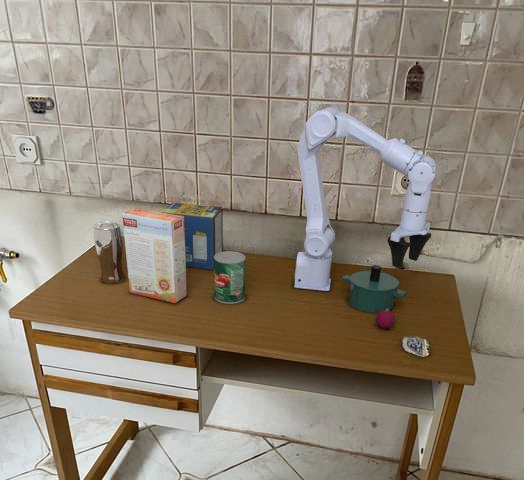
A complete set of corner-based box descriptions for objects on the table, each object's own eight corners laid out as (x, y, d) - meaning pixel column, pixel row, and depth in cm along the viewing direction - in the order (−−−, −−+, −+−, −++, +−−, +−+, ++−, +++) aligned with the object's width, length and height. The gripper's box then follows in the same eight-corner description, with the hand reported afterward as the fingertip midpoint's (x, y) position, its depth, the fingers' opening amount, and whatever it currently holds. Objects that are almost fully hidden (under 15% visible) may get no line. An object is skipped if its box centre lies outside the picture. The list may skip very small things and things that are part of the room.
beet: (374, 330, 121) (377, 311, 118) (374, 322, 125) (377, 303, 122) (393, 332, 120) (397, 314, 118) (393, 324, 124) (396, 305, 122)
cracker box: (188, 296, 133) (185, 215, 122) (175, 304, 128) (171, 221, 118) (143, 284, 138) (136, 206, 127) (128, 293, 133) (120, 212, 122)
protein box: (175, 252, 160) (172, 201, 152) (223, 257, 157) (223, 206, 149) (162, 264, 151) (159, 211, 143) (213, 270, 148) (213, 216, 141)
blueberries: (423, 338, 119) (425, 330, 118) (439, 356, 112) (441, 348, 111) (395, 339, 118) (397, 332, 117) (409, 357, 111) (411, 350, 110)
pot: (392, 320, 126) (396, 298, 123) (331, 301, 134) (334, 280, 131) (409, 304, 134) (414, 283, 131) (351, 287, 142) (354, 267, 139)
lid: (386, 298, 124) (389, 280, 122) (341, 285, 130) (343, 267, 127) (405, 282, 133) (409, 265, 130) (362, 271, 138) (364, 254, 136)
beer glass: (94, 281, 138) (86, 226, 131) (110, 272, 144) (103, 219, 136) (116, 286, 136) (109, 231, 129) (131, 277, 142) (126, 223, 134)
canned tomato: (250, 295, 135) (251, 255, 129) (235, 306, 129) (235, 265, 123) (224, 288, 138) (224, 249, 132) (208, 299, 132) (207, 258, 126)
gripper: (413, 219, 118) (402, 274, 125) (445, 208, 127) (433, 261, 134) (387, 211, 122) (378, 266, 129) (419, 202, 131) (409, 253, 138)
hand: (404, 263), depth 132 cm, fingers open, 7 cm apart
